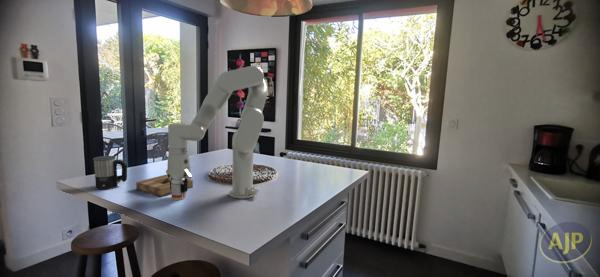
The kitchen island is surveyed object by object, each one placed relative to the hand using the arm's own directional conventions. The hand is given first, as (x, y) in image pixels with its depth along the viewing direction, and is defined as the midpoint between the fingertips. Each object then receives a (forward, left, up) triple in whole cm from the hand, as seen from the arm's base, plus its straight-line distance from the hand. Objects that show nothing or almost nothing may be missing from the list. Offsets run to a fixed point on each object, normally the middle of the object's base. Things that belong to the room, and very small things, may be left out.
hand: (178, 190), depth 132 cm
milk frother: (+42, +6, -4) cm, 43 cm away
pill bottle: (0, 0, -4) cm, 4 cm away
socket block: (+16, -5, -4) cm, 17 cm away
